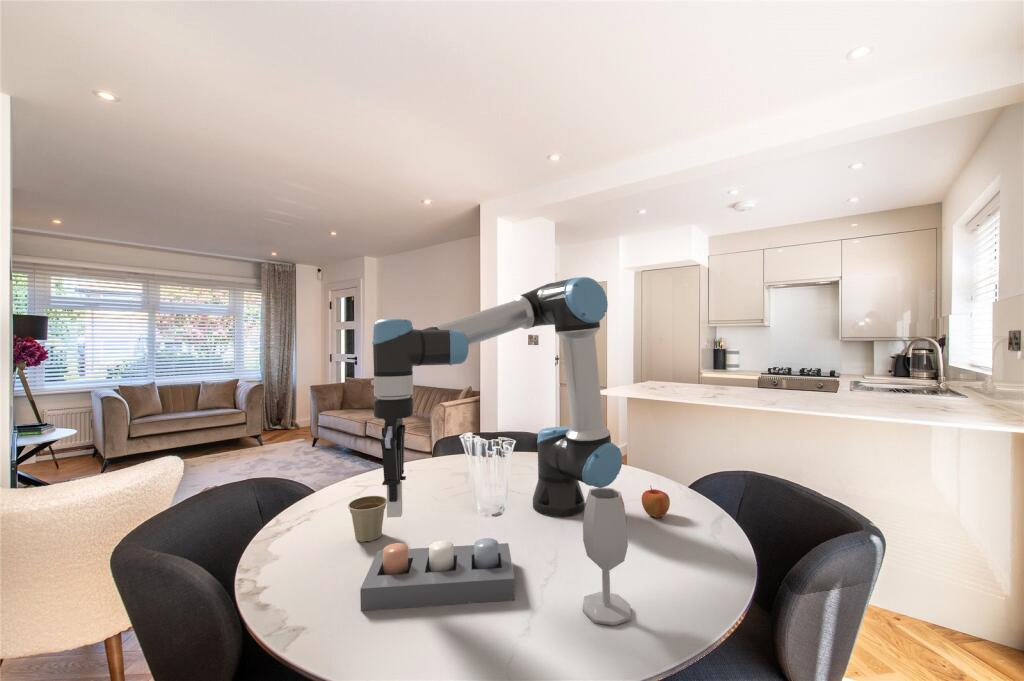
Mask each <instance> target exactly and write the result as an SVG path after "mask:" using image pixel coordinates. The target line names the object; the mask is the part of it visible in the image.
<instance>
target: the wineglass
mask: <svg viewBox="0 0 1024 681" xmlns="http://www.w3.org/2000/svg"><path fill="white" fill-rule="evenodd" d="M625 507H626V506H625V502H624V499H623V496H622V493H621V491H620V490H619V491H618V490H617V489H614V488H613V487H602V488H598V487H594V488H590V489H589V490H588V493H587V497H586V501H585V509H584V514H583V515H584V516H583V521H582V522H583V523H582V541H583V547H584V549H585V553H586V556H587V557H588V558H589V559H590V560H592V562H593V563H594V564H595V565H597V567H599V568H600V569H601V573H602V575H601V576H602V578H601V579H602V581H601V582H602V583H601V585H602V586H601V587H602V590H601V591H597V592H594V593H591V594H588V595H585V596H583V602H582V609H581V610H582V612H583V613H584V614H585V615H586V616H587V618H589V619H590V620H591V622H593V623H594V624H600V625H606V626H607V625H608V626H617V625H621V624H623V623H626V622H629V621H631V619H632V615H631V613H632V612H631V604H630V603H629V602H628V601H627V600H626V599H624V598H623V597H622V596H621V595H619V594H618V593H611V582H610V581H611V577H610V576H611V575H610V573H611V572H610V571H612V570H613V569H614V568H616V567H618V566H619V565H620V564H621V565H622V563H624V562H625V559H626V556H627V552H628V546H629V536H628V532H629V530H628V529H629V528H628V519H627V513H626V508H625Z"/></svg>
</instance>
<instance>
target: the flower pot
mask: <svg viewBox="0 0 1024 681" xmlns="http://www.w3.org/2000/svg"><path fill="white" fill-rule="evenodd" d="M347 508H348V509H349V513H350V514H351V519H352V525H353V532H354V538H355V540H356V541H357V542H361V543H364V542H366V541H367V542H373V541H376V540H378V539H380V537H381V536H382V533H383V532H382V531H383V524H384V523H383V522H384V516H385V514H384V513H385V510H386V508H387V497H386V496H382V495H366V496H365V495H364V496H360V497H358V498H357V497H356V498H355V499H353V500H351V501H350V502H349V503H348V504H347Z"/></svg>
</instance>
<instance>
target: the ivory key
mask: <svg viewBox="0 0 1024 681" xmlns="http://www.w3.org/2000/svg"><path fill="white" fill-rule="evenodd" d="M453 546H454V543H453V542H452V541H449V540H438V541H434V542H432V543H431V544H430V545H429V547H428V548H429V568H430V570H431V571H433V572H444V571H449V570H451V569H452V568H453V566H454V553H453Z"/></svg>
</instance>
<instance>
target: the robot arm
mask: <svg viewBox="0 0 1024 681" xmlns="http://www.w3.org/2000/svg"><path fill="white" fill-rule="evenodd" d="M608 305H609V304H608V297H607V294H606V291H605V289H604V288H603V286H602V285H601V284H600V283H598V281H597V280H595V279H593V278H591V277H588V276H587V277H586V276H581V277H573V278H572V277H571V278H568V279H565V280H564V279H563V280H559V281H556V282H549V283H546V284H544V285H541V286H539V287H536V288H534V289H533V290H529V291H528V292H526V293H523V294H519V295H517V296H515V297H514V298H513V300H512V301H509V302H506V303H503V304H500V305H496V306H494V307H490V308H487V309H483V310H480V311H477V312H474V313H471V314H468V315H465V316H462V317H459V318H455V319H452V320H448V321H444V322H442V323H439V324H435V325H433V326H430V327H427V328H423V329H416V328H415V329H414V327H413V322H412V321H411V320H410V319H406V318H405V319H401V318H384V319H383V318H382V319H378V320H376V321H375V322H374V324H373V333H372V334H373V335H372V342H371V343H372V350H373V351H372V355H373V357H372V358H373V360H372V361H373V380H371V382H370V385H371V386H373V395H374V397H376V398H375V399H374V400H373V416H374V418H375V419H377V420H378V419H379V420H384V427H382V428H381V436H382V437H381V438H380V445H381V446H380V447H381V451H382V452H381V453H382V454H381V455H382V468H383V469H382V470H383V481H382V484H381V485H382V486H386V498H387V504H386V518H401V517H402V516H403V481H406V480H407V479H406V478H407V476H406V475H404V472H405V470H404V469H405V468H404V466H405V465H404V464H405V461H404V460H405V435H406V424H403V423H404V422H403V419H406V418H410V417H411V416H413V414H414V399H413V397H411V395H413V393H414V374H413V373H414V371H413V368H414V367H420V366H453V365H460V364H464V362H466V360H467V359H468V356H469V350H470V349H469V347H470V346H473V345H475V344H478V343H481V342H484V341H486V340H490V339H493V338H495V337H498V336H501V335H503V334H507V333H509V332H510V333H511V332H513V331H516V330H518V329H520V328H522V329H524V330H529V329H531V328H535V327H539V326H540V327H542V326H554V330H555V332H554V333H555V334H556V335H557V336H559V337H560V339H561V343H562V353H563V354H562V355H563V363H564V371H565V372H564V373H565V382H566V383H565V384H566V390H567V400H568V402H567V403H568V412H569V422H570V425H568V426H567V425H566V426H565V425H564V426H551V427H546V428H542V429H540V430H539V431H538V432H537V433H538V434H537V442H536V444H537V474H538V476H537V477H538V478H537V482H536V486H535V488H534V489H535V490H534V494H533V495H532V508H533V509H534V511H536V512H537V513H539V514H542V515H545V516H549V517H572V516H575V515H578V514H581V513H582V512H584V511H585V505H586V501H585V496H584V494H583V490H582V487H581V485H580V482H581V483H584V484H585V485H586V486H590V487H594V488H607V487H608V486H610V485H611V484H612V483H613V482H614V481H615V480H616V479H617V477H618V475H619V474H620V471H621V469H622V465H623V455H622V451H621V449H620V448H619V447H618V446H617V445H616V444H615V443H613V442H612V437H611V430H610V429H608V428H607V426H605V425H604V413H603V406H602V395H601V382H600V376H599V374H600V373H599V365H598V354H597V343H596V334H597V333H598V332H599V331H600V329H601V321H602V320H603V319H604V317H606V313H607V311H608V307H609V306H608Z"/></svg>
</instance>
